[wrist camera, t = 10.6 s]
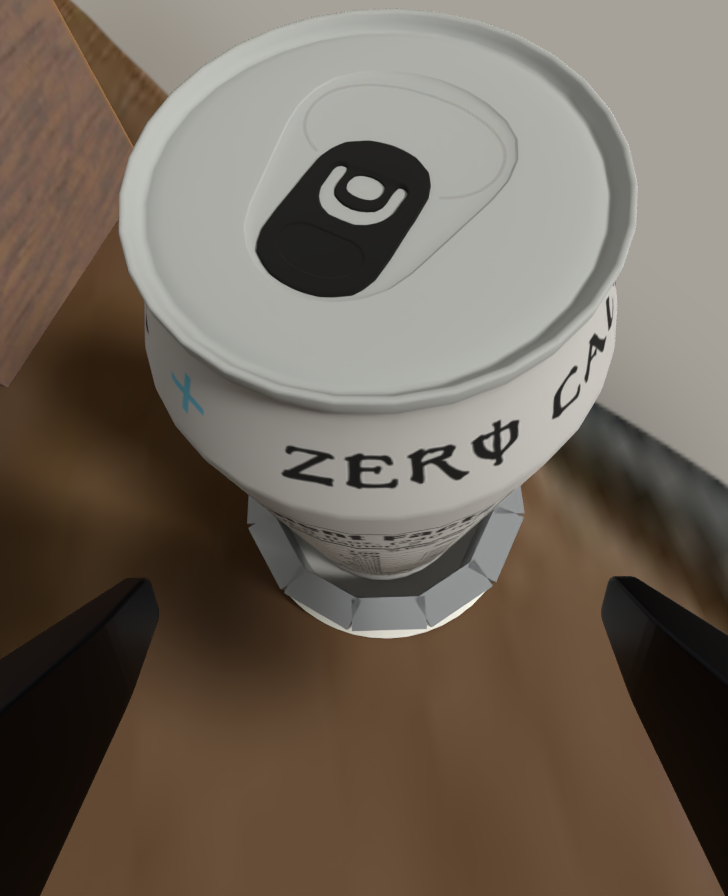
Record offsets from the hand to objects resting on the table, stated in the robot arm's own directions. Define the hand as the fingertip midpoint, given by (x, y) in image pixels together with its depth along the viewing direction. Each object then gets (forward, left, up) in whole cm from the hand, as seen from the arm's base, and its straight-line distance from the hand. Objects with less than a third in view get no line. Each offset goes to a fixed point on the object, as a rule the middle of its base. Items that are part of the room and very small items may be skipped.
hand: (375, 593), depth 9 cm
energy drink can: (+2, +3, -9) cm, 10 cm away
